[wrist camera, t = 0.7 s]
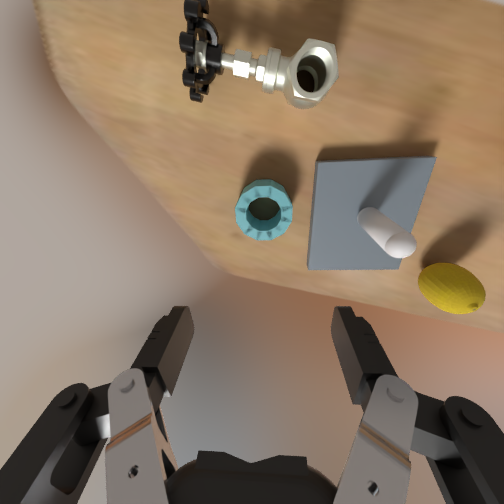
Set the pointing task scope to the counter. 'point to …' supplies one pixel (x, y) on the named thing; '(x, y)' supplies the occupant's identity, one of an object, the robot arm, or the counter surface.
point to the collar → (264, 227)
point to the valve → (253, 62)
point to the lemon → (451, 288)
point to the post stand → (365, 212)
